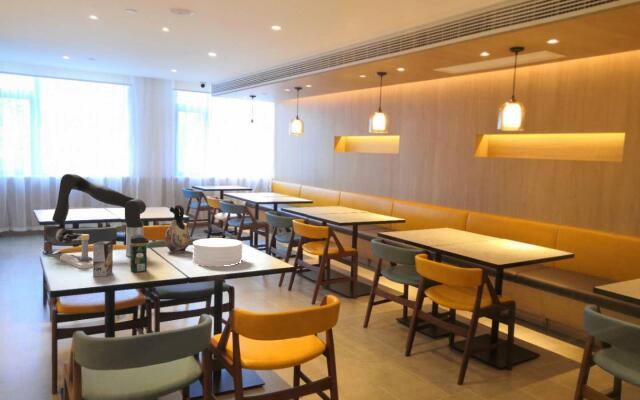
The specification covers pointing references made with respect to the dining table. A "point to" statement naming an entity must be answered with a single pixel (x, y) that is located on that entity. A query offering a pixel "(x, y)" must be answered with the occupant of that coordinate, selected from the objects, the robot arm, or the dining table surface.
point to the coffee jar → (138, 253)
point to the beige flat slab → (77, 261)
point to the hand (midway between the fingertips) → (76, 239)
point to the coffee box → (102, 258)
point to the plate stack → (217, 251)
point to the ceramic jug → (177, 232)
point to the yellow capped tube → (84, 248)
